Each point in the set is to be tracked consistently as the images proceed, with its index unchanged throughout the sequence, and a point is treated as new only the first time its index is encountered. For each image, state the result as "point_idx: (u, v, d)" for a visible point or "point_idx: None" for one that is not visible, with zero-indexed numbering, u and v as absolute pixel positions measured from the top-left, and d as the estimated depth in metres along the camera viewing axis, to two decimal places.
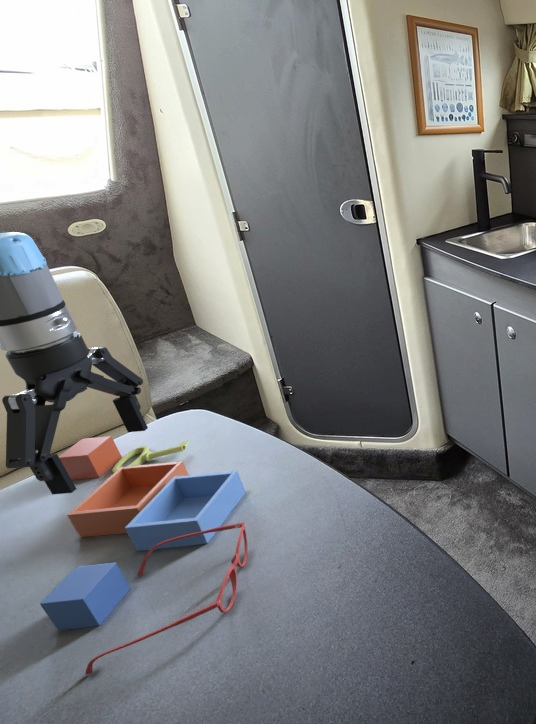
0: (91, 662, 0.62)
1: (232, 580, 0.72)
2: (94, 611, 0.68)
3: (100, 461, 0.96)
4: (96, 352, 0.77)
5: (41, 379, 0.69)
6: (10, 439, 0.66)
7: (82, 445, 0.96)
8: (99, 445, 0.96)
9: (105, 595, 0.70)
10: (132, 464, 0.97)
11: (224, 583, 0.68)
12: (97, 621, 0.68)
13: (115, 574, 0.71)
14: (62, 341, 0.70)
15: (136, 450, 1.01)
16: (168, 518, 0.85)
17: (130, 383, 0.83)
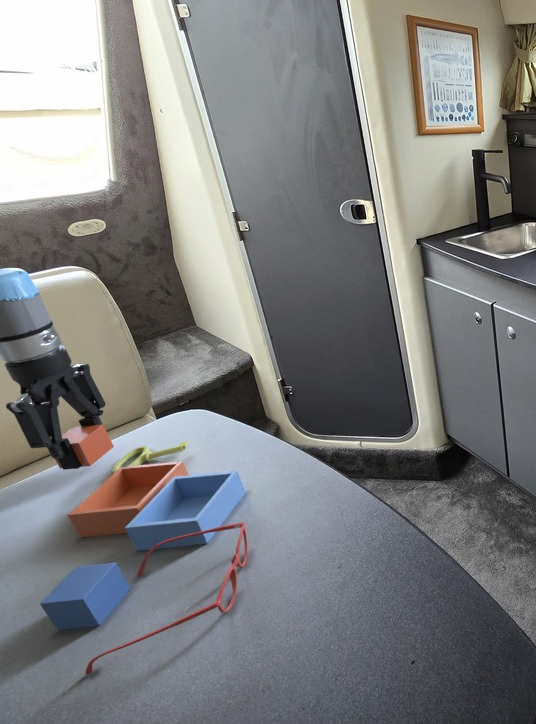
0: (91, 662, 0.62)
1: (232, 580, 0.72)
2: (94, 611, 0.68)
3: (91, 449, 0.95)
4: (80, 366, 0.96)
5: (32, 383, 0.87)
6: (25, 431, 0.87)
7: (73, 434, 0.95)
8: (90, 433, 0.95)
9: (105, 595, 0.70)
10: (132, 464, 0.97)
11: (224, 583, 0.68)
12: (97, 621, 0.68)
13: (115, 574, 0.71)
14: (50, 353, 0.88)
15: (136, 450, 1.01)
16: (168, 518, 0.85)
17: (94, 406, 0.98)
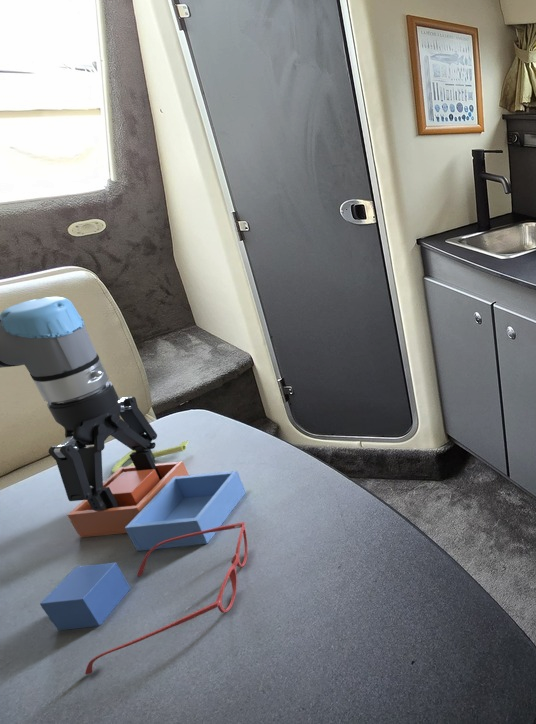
0: (91, 662, 0.62)
1: (232, 580, 0.72)
2: (94, 611, 0.68)
3: None
4: (126, 400, 0.86)
5: (78, 426, 0.77)
6: (66, 480, 0.77)
7: (124, 480, 0.86)
8: (142, 480, 0.86)
9: (105, 595, 0.70)
10: (132, 464, 0.97)
11: (224, 583, 0.68)
12: (97, 621, 0.68)
13: (115, 574, 0.71)
14: (96, 391, 0.79)
15: None
16: (168, 518, 0.85)
17: (145, 438, 0.90)
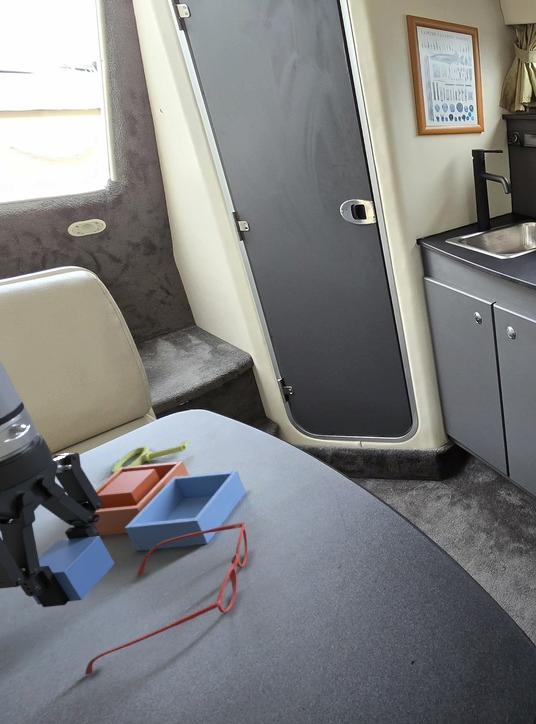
0: (91, 662, 0.62)
1: (232, 580, 0.72)
2: (75, 585, 0.66)
3: None
4: (66, 458, 0.68)
5: None
6: None
7: (124, 480, 0.86)
8: (142, 480, 0.86)
9: (87, 568, 0.68)
10: (132, 464, 0.97)
11: (224, 583, 0.68)
12: (79, 595, 0.66)
13: (98, 548, 0.70)
14: (20, 451, 0.60)
15: (136, 450, 1.01)
16: (168, 518, 0.85)
17: (87, 509, 0.71)
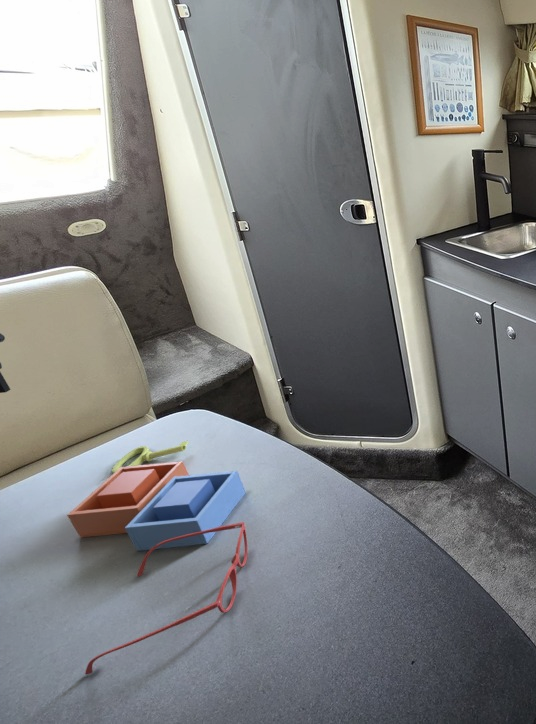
0: (91, 662, 0.62)
1: (232, 580, 0.72)
2: (195, 516, 0.82)
3: None
4: None
5: None
6: None
7: (124, 480, 0.86)
8: (142, 480, 0.86)
9: (203, 504, 0.84)
10: (132, 464, 0.97)
11: (224, 583, 0.68)
12: None
13: (209, 489, 0.85)
14: None
15: (136, 450, 1.01)
16: None
17: None
